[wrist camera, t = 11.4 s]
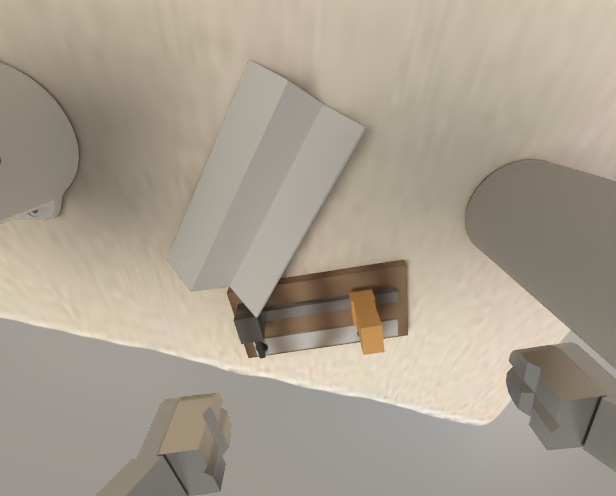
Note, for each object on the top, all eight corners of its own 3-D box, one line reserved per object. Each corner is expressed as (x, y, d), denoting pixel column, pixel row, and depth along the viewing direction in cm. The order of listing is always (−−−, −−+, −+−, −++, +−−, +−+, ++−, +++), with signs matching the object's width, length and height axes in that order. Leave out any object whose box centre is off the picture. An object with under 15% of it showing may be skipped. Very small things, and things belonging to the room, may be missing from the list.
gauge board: (249, 350, 49) (245, 376, 45) (229, 286, 44) (221, 309, 40) (404, 328, 48) (415, 352, 44) (402, 260, 43) (415, 279, 39)
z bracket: (208, 258, 45) (166, 259, 40) (288, 85, 37) (249, 59, 32) (257, 316, 40) (216, 326, 35) (366, 128, 31) (333, 104, 26)
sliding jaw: (354, 341, 46) (364, 384, 40) (348, 290, 42) (358, 328, 36) (375, 338, 46) (388, 381, 39) (370, 286, 42) (384, 324, 35)
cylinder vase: (445, 239, 42) (615, 411, 20) (496, 144, 37) (808, 232, 14) (526, 262, 44) (764, 442, 22) (585, 175, 39) (983, 294, 16)
